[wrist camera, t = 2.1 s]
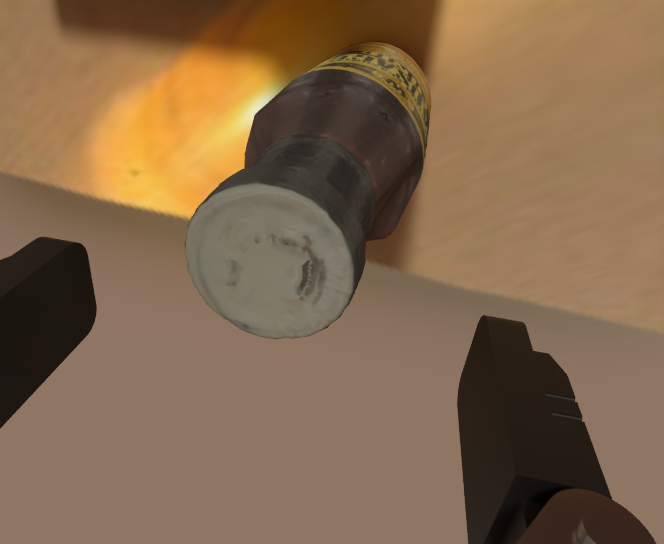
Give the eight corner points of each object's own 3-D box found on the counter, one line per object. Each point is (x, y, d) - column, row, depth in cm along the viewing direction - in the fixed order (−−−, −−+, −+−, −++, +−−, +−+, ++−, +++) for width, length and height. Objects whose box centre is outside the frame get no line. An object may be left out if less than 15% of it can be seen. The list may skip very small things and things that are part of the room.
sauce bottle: (454, 93, 27) (499, 289, 10) (377, 174, 30) (313, 428, 13) (364, 5, 26) (245, 65, 9) (292, 99, 29) (101, 278, 12)
